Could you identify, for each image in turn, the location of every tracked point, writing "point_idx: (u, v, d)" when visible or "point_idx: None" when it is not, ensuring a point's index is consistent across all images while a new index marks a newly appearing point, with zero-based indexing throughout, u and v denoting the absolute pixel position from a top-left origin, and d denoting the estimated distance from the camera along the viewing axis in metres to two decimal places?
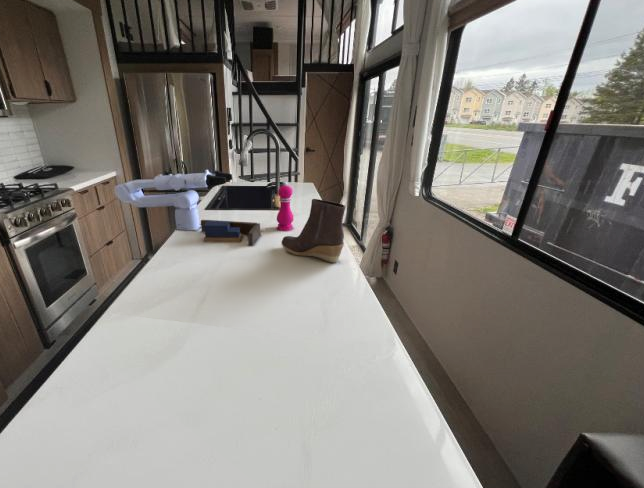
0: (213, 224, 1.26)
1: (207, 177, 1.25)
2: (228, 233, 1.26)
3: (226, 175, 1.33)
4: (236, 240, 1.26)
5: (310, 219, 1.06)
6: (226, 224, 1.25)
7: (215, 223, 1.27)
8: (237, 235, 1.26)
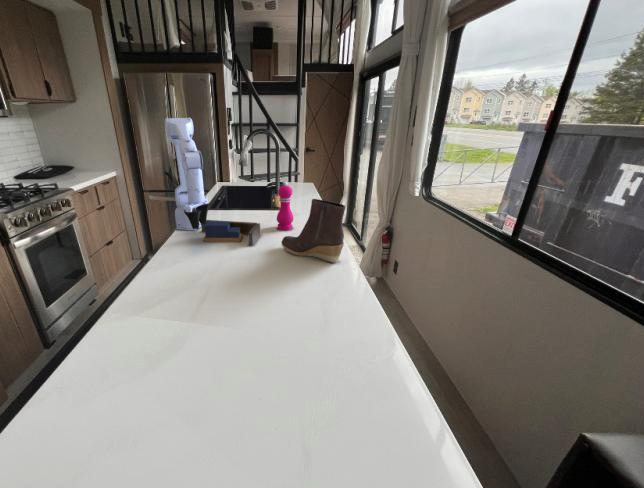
0: (213, 224, 1.26)
1: (196, 213, 1.10)
2: (228, 233, 1.26)
3: (204, 217, 1.20)
4: (236, 240, 1.26)
5: (310, 219, 1.06)
6: (226, 224, 1.25)
7: (215, 223, 1.27)
8: (237, 235, 1.26)
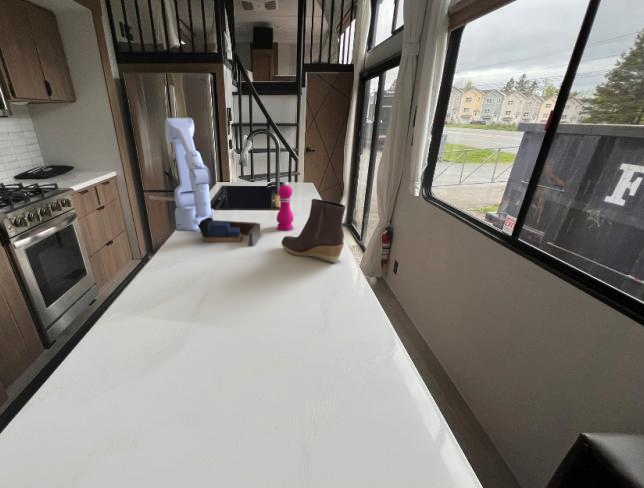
0: (213, 224, 1.26)
1: (206, 223, 1.20)
2: (228, 233, 1.26)
3: None
4: (236, 240, 1.27)
5: (310, 219, 1.06)
6: (226, 224, 1.26)
7: (215, 223, 1.27)
8: (237, 235, 1.26)
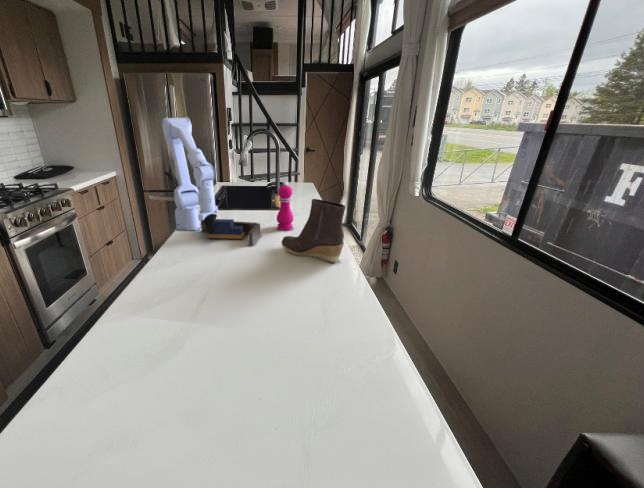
0: (217, 221, 1.28)
1: (211, 218, 1.23)
2: (231, 230, 1.27)
3: (211, 228, 1.26)
4: (239, 237, 1.28)
5: (310, 219, 1.06)
6: (229, 221, 1.28)
7: (219, 220, 1.29)
8: (240, 232, 1.27)
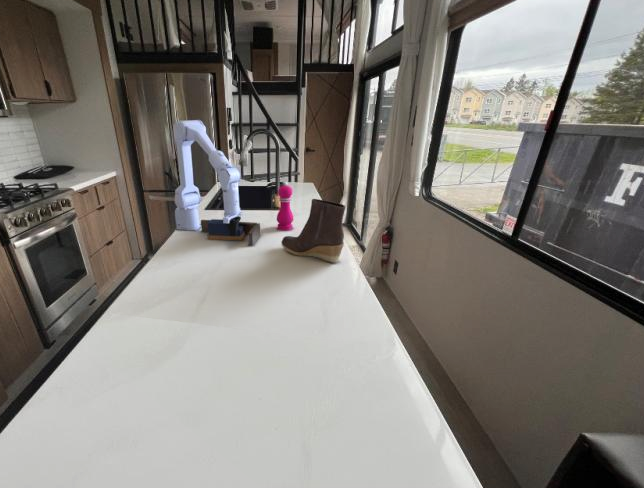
0: (216, 222, 1.28)
1: (235, 221, 1.21)
2: None
3: None
4: (238, 238, 1.28)
5: (310, 219, 1.06)
6: None
7: (218, 221, 1.29)
8: (239, 234, 1.27)
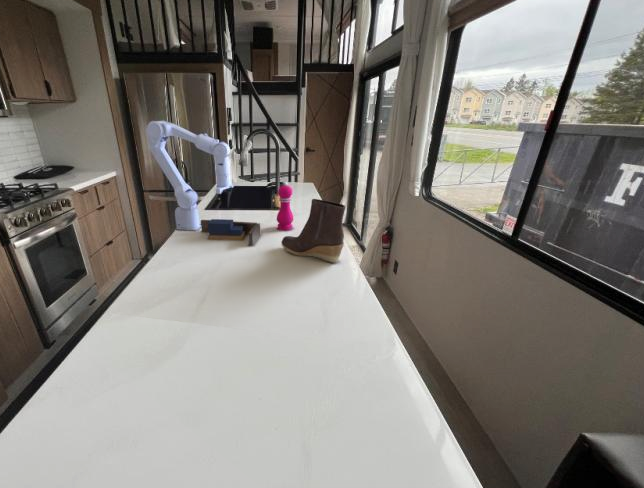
0: (216, 222, 1.28)
1: (226, 193, 1.32)
2: (231, 231, 1.28)
3: None
4: (238, 238, 1.28)
5: (310, 219, 1.06)
6: (229, 222, 1.27)
7: (219, 221, 1.29)
8: (240, 233, 1.28)
